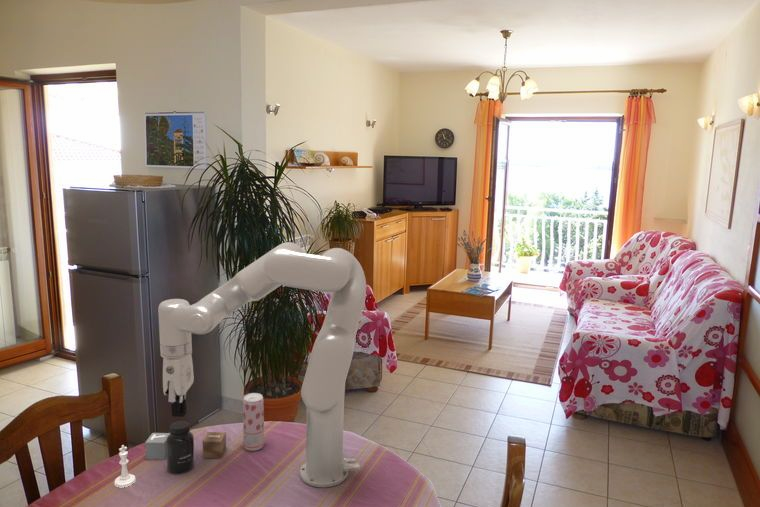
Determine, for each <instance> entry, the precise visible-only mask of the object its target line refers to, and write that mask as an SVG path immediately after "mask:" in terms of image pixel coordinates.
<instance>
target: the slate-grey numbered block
mask: <svg viewBox="0 0 760 507" xmlns="http://www.w3.org/2000/svg"><path fill="white" fill-rule="evenodd" d="M169 434H170V432H167V433H166V432H152V433H151V434H150V435H149V437H148V438H147V440H146V441H144V446H145V460H165V459H167V454H166V439H167V437H168V435H169Z"/></svg>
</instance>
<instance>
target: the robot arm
mask: <svg viewBox="0 0 760 507" xmlns="http://www.w3.org/2000/svg"><path fill="white" fill-rule="evenodd" d="M281 286H284V287H289V288H295V289H298V290H299V289H300V290H301V289H302V290H306V291H307V290H308V291H313V292H319V293H331V294H330V298H329V301H328V304H327V309H326V310H327V311H326V313H325V317H324V320H323V323H322V326H321V327H320V328H321V329H320V330H319V332H318V334H317V336H316V339H315V341H314V343H313V346H312V348H311V349H312V350H311V353H310V357H309V361H308V364H307V367H306V372H305V375H304V379H303V383H302V385H301V390H300V391H301V392H300V396H301V400H302V401H303V404H304V406H305V407H306V424H305V426H306V427H305V428H306V429H305V430H306V434H305V436H306V437H305V438H306V439H305V440H306V441H305V442H306V444H305V445H306V448H305V449H306V450H305V451H306V453H305V455H306V456H305V457H306V458H305V460H306V461H305V462H304V463H303V464H302V465H301V467H300V469H299V470H300V471H299V476H300V479H301V480H302V481H303V482H304V483H306V484H307V485H309V486H312V487H316V488H330V487H331V488H332V487H335V486H337V485H340V484H341V483H342V482H345V480H346V479H347V478H348V476H349V471H353V472H360V465H361V464H360V462H356V458H347V457H345V452H344V451H343V450H344V420H345V419H344V418H345V417H344V415H345V410H344V409H345V393H346V389H345V388H346V380H347V377H348V374H349V370H350V368H351V362H352V359H353V356H354V351H355V347H356V346H355V345H356V337H357V336H356V335H357V332H358V328H359V325H360V322H361V318H362V313H363V308H364V306H365V301H366V296H367V280H366V276H365V271H364V268H363V267H362V265H361V263H360V262H359V261H358V259H357V258H356V257H355V256H354V255H353V254H352V253H351V252H350V251H348V250H346V249H344V248H341V247H332V248H329V249H328V250H326V251H324V252H323V254H322V255H321V254H320V255H319V254H315V253H314V254H313V253H307V252H304V250H303V248H302V247H301V246H300V245H299V244H297V243H295V242H291V241H290V242H289V241H286V242H283V243H280V244H278V245H277V246H275V247H274V248H272V249H271V250H269V251H268V252H266V253H265V254H264V255H261V256H260V257H259V258H258V259H256V260H255V261H253V262H252V263H250V264H248V265H247V266H245V267H244V268H243V269H241V270H240V271H238V272H237V273H236V274H235V275H234V276H233V277H232V278H230V279H229V280H228V281H226V282H225V283H223V284H222V285H220V286H219V287H217V288H216V289H214V290H212V292H210V293H208V294H207V295H205V296H204V297H202V298H200V300H198V301H197V302H195V303H193V304H190V303H189V301H188V300H186V299H183V298H182V299H181V298H170V299H166V300H163V301H161V302H160V303H159V304H158V310H157V311H158V312H157V314H158V329H159V330H158V331H159V350H160V357H161V358H163V359H162V390H163V395H164V396H166V397H167V396H168V401H167V402H168V403H171V404H170V406H171V407H170V408H171V416H172V418H176V417H178V418H179V417H180V418H184V417H185V416H186V414H187V392H188V391H189V389H190V388H191V387H192V385H193V384H194V381H195V376H194V363H193V357H192V354H193V346H192V345H193V344H192V343H193V341H192V334H195V335H206V334H208V333H210V332H212V331H213V330H214V329H215V328H216V327H217V326H218V325H219V323H221V322H222V321H223V320H224V319H226V318H227V317H228V316H229V315H231V314H233V313H234V312H235V311H237V310H239V309H240V308H241V307H243V306H244V305H246V304H248V303H250V302H257V301H260V300H261V299H263V298H265V297H266V296H267V295H269V294H270V293H272V292H273V291H275V290H277V288H280V287H281ZM347 475H348V476H347ZM346 477H347V478H346Z"/></svg>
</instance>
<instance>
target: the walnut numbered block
mask: <svg viewBox="0 0 760 507" xmlns="http://www.w3.org/2000/svg"><path fill="white" fill-rule="evenodd" d="M226 435H227V433H226V432H223V431H222V432H221V431H217V432H215V431H207V433H206V435H204V436H205V437H204V438H203V440H202V459H222V458H223V456H224V454H225V452H226V450H227V438H226V437H227V436H226Z"/></svg>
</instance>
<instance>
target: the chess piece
mask: <svg viewBox="0 0 760 507" xmlns="http://www.w3.org/2000/svg"><path fill="white" fill-rule="evenodd" d="M118 450H119V452H118V456H119V457H120V460H119V465H121V471H120V472H121V474H120V475H119V476H117V477H116V478H115V479H114V486H115V487H116V488H118V487H119V489H120V488H121V489H125V488H128V486H129V487H131V486H133V485H134V484H135V483H136V480H137V479H136V475H134V474H132V473H129V471H128V467H127V465H128V463H129V459H127V457H128V454H129V451H127V450H128V447H127V446H125V445H124V444H122V445H121V447H120V448H118ZM133 483H134V484H133ZM132 484H133V485H132ZM124 487H125V488H124Z"/></svg>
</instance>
